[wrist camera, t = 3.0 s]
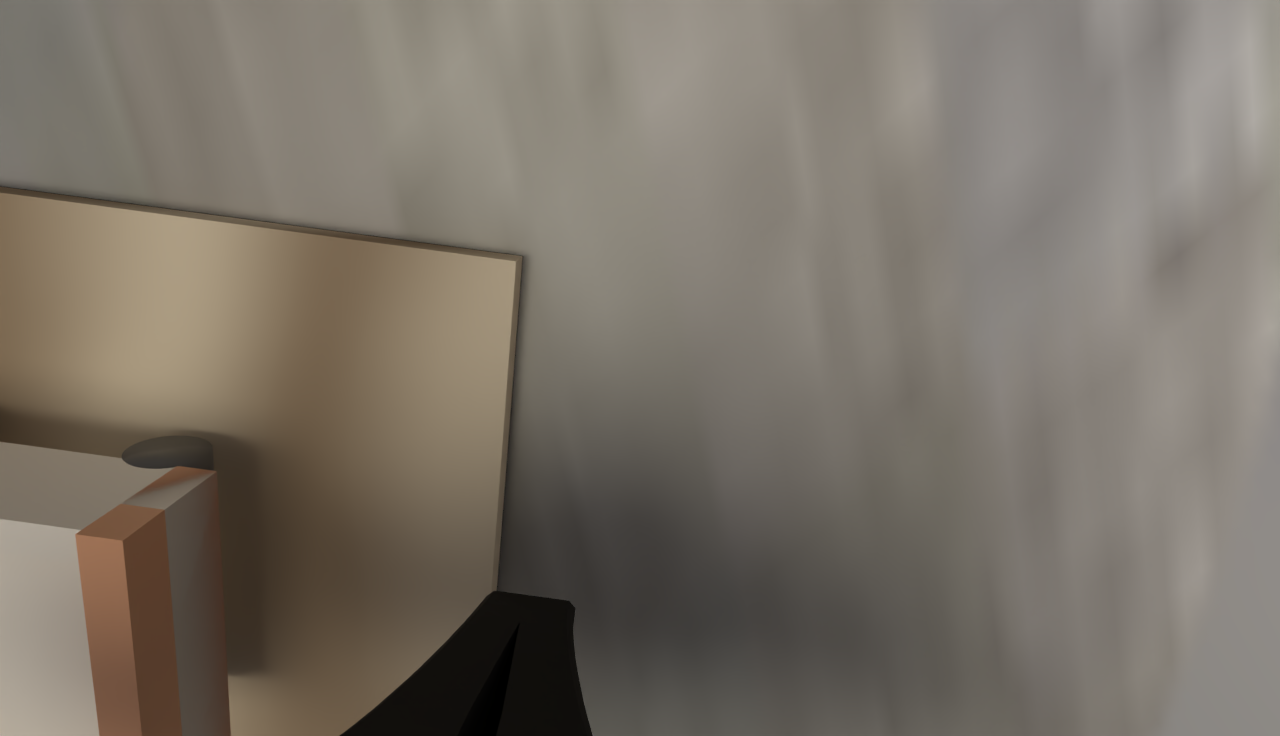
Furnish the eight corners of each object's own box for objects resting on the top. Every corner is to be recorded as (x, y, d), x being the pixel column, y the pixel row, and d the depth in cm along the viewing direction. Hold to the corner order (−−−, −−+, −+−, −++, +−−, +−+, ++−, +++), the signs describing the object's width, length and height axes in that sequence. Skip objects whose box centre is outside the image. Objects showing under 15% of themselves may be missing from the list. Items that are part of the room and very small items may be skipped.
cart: (253, 444, 12) (122, 540, 9) (261, 694, 14) (152, 841, 11) (-110, 395, 12) (-351, 475, 9) (-61, 649, 14) (-255, 785, 11)
